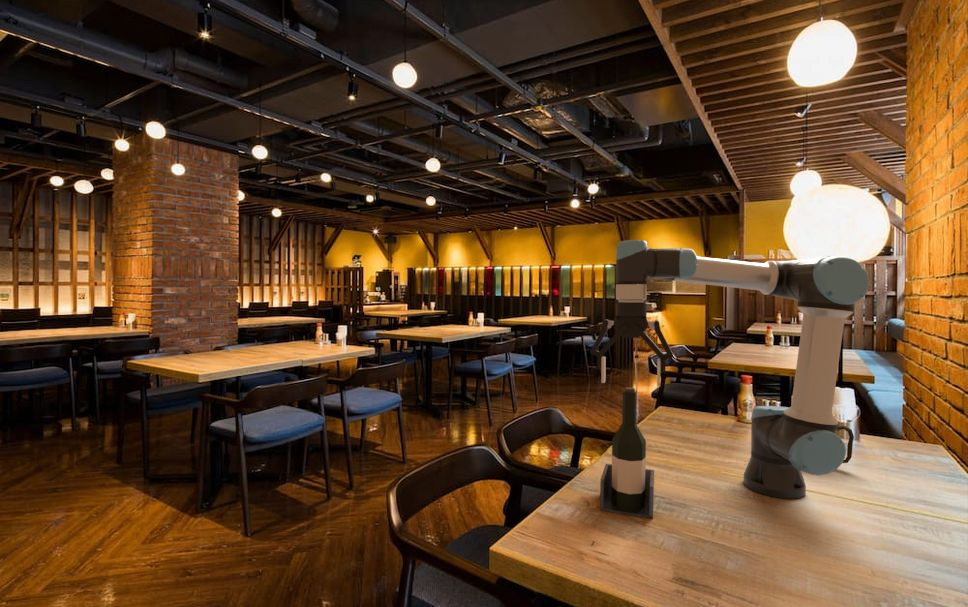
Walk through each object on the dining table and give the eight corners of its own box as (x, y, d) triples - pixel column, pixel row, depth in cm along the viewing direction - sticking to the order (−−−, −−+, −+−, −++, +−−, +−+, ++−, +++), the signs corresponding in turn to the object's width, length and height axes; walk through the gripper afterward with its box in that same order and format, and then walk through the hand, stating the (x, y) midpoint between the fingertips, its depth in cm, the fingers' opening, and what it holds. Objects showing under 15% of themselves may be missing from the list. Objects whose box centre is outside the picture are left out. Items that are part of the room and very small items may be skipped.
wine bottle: (647, 512, 120) (649, 392, 119) (612, 509, 121) (614, 390, 120) (642, 497, 128) (644, 385, 127) (610, 495, 129) (611, 384, 128)
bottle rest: (653, 499, 128) (654, 470, 128) (652, 519, 117) (653, 486, 117) (605, 492, 132) (605, 463, 132) (600, 510, 122) (600, 479, 121)
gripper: (683, 301, 122) (682, 384, 123) (584, 300, 131) (583, 378, 131) (684, 302, 115) (683, 390, 116) (579, 301, 124) (579, 383, 124)
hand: (630, 384), depth 123 cm, fingers open, 13 cm apart
